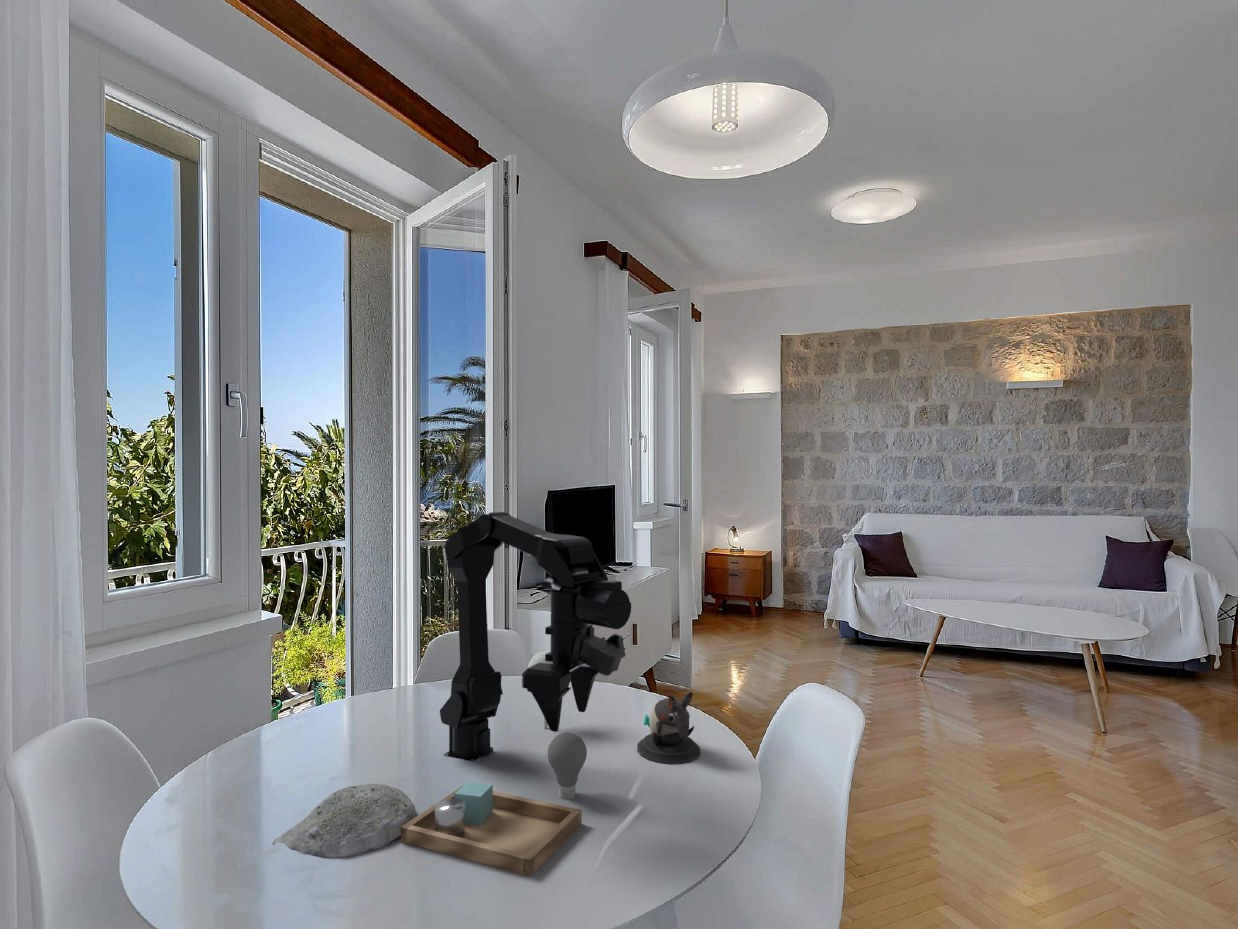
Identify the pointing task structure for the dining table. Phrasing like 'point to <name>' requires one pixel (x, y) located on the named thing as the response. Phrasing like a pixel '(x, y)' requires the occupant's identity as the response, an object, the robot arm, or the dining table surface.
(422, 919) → the dining table surface
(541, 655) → the lollipop
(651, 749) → the figurine
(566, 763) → the light bulb
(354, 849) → the stone
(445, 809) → the grey metal cylinder
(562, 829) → the tray
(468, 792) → the teal block
